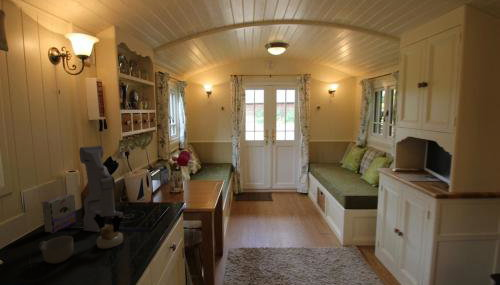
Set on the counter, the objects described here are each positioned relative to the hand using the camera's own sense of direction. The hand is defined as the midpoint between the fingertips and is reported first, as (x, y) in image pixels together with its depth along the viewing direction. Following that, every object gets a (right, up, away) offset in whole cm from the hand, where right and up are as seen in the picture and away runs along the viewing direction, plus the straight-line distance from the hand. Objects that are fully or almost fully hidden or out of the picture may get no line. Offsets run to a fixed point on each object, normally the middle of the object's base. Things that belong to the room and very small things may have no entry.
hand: (109, 230), depth 125 cm
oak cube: (0, -3, +1) cm, 3 cm away
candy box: (-35, -4, +18) cm, 40 cm away
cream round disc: (0, -6, +1) cm, 6 cm away
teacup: (-15, -8, -13) cm, 22 cm away
